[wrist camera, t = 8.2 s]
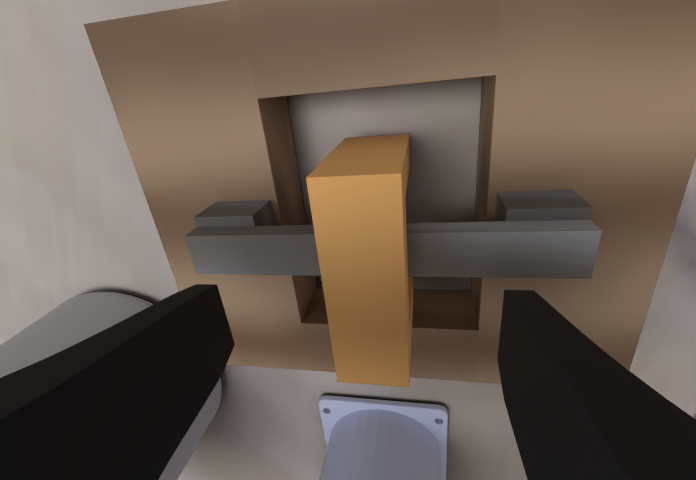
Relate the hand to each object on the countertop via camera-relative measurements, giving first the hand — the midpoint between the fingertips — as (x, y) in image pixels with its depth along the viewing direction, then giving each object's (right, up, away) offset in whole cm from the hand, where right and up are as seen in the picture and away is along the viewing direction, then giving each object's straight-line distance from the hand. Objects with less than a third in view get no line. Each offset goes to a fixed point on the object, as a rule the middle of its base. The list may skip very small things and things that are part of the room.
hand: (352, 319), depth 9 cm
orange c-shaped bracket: (+1, +3, +7) cm, 7 cm away
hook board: (+2, +4, +8) cm, 9 cm away
